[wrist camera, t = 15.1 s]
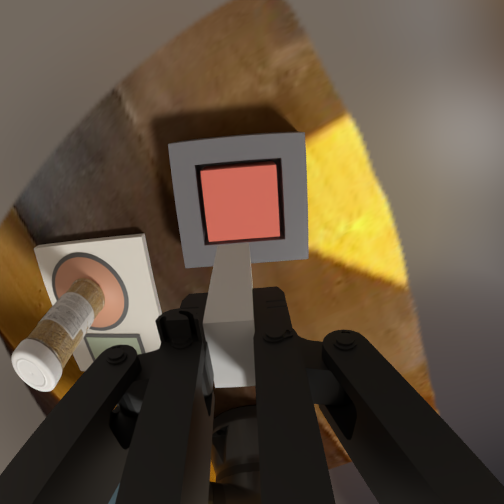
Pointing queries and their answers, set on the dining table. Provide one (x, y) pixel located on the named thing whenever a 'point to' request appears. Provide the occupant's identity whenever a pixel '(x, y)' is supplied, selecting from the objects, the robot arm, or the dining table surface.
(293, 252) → the button housing
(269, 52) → the dining table surface
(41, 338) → the spice jar
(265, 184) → the button
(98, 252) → the picture board
